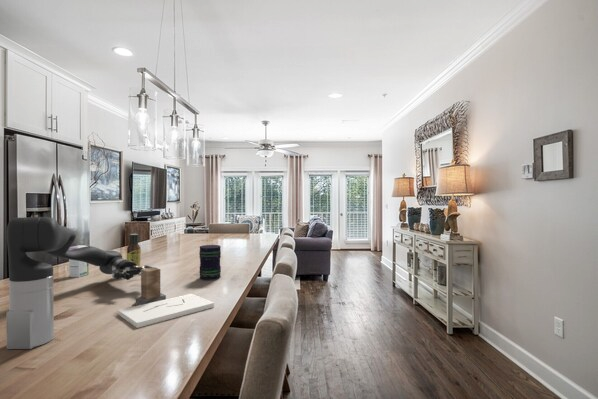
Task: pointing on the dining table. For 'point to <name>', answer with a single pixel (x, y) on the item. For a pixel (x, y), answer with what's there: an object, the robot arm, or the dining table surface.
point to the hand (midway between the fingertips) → (140, 275)
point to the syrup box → (77, 265)
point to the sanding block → (150, 287)
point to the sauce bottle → (134, 249)
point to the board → (164, 309)
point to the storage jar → (210, 262)
